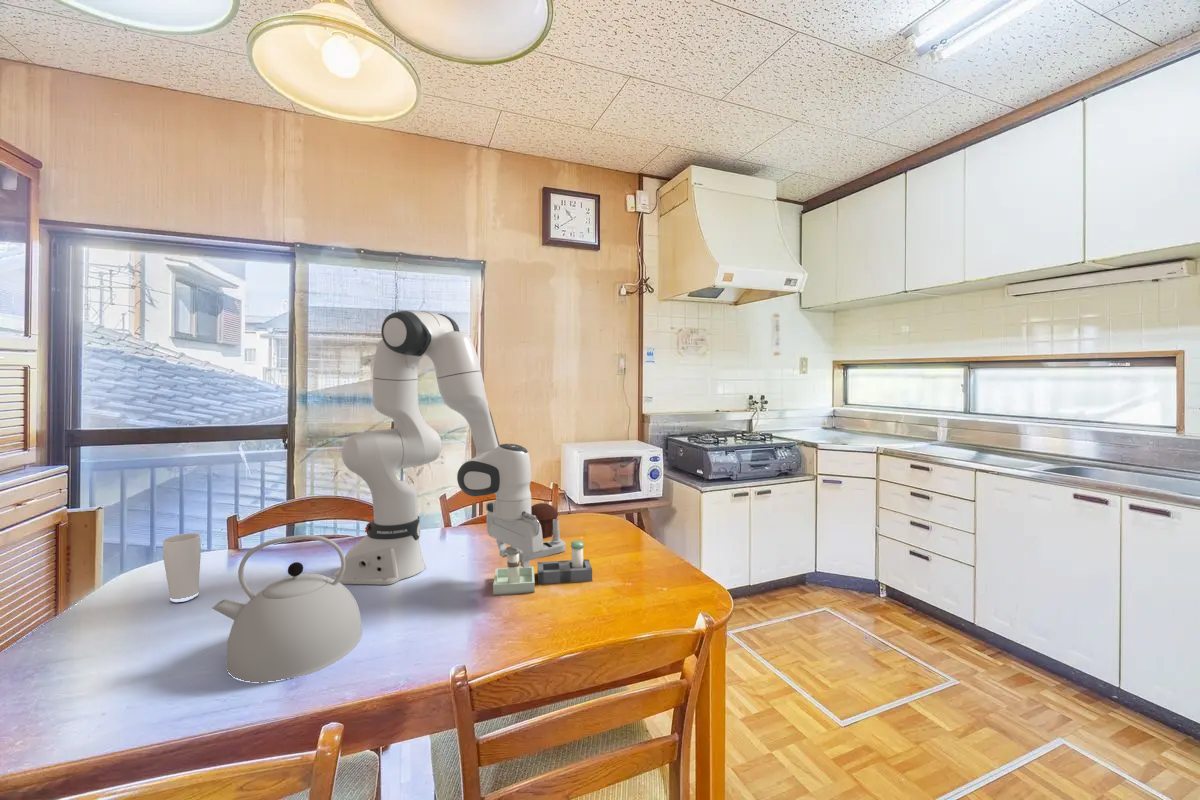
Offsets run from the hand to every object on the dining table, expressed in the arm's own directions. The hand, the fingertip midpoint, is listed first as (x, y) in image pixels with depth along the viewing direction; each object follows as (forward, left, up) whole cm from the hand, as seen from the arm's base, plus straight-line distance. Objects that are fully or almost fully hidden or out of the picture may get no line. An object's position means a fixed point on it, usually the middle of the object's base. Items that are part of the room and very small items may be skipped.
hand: (514, 561), depth 123 cm
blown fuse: (0, 0, -6) cm, 6 cm away
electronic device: (+8, +20, -7) cm, 23 cm away
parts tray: (0, 0, -6) cm, 6 cm away
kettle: (-43, -22, -6) cm, 49 cm away
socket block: (+13, +3, -6) cm, 15 cm away
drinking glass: (-78, +4, -6) cm, 78 cm away
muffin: (+8, +38, -6) cm, 39 cm away
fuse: (+17, +3, -6) cm, 18 cm away
